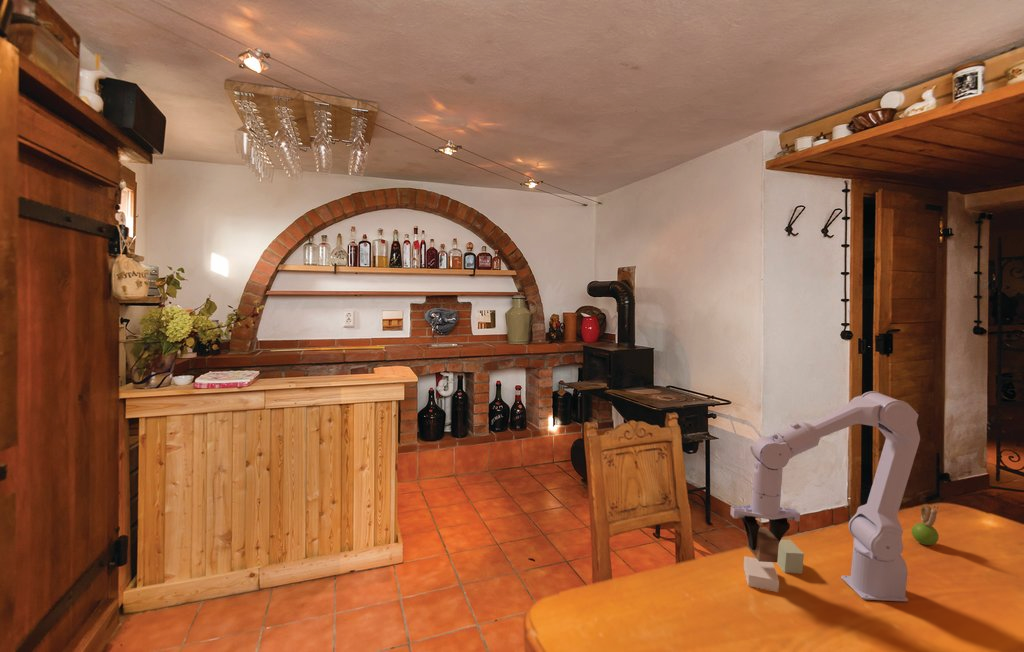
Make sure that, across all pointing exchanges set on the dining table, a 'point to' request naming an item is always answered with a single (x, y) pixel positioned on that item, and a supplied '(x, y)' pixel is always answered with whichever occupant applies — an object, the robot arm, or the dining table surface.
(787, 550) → the sage brick
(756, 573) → the pale grey brick
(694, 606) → the dining table surface
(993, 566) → the dining table surface
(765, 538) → the walnut brick
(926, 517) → the green egg with ears
